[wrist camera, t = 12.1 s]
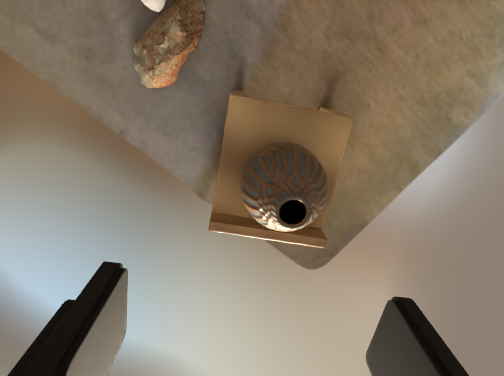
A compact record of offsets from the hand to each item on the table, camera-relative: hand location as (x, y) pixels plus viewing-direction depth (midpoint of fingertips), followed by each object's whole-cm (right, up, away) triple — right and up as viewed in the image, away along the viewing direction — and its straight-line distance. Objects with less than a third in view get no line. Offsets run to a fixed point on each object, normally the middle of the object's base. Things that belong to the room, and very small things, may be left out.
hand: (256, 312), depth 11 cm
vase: (+2, +6, +17) cm, 18 cm away
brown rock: (-8, +19, +20) cm, 29 cm away
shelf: (+2, +9, +25) cm, 26 cm away
